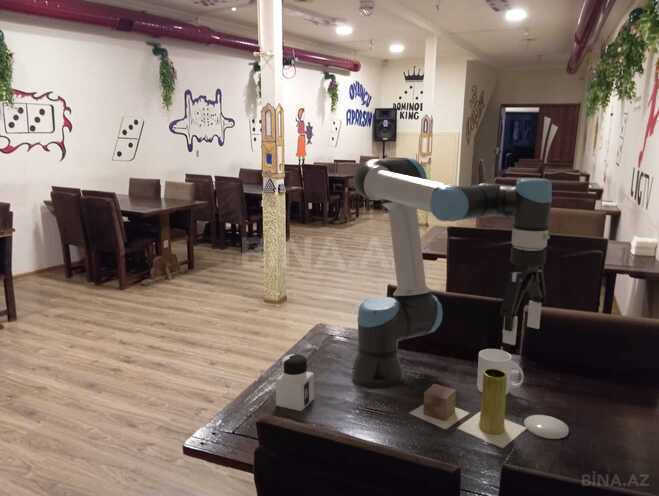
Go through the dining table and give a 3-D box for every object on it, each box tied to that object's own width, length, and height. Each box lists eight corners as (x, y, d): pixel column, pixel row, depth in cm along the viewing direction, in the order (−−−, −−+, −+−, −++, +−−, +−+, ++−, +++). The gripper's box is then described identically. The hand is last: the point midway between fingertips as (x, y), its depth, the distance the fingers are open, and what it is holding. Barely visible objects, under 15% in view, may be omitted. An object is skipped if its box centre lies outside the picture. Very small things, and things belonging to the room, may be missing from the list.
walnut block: (423, 414, 131) (424, 392, 130) (433, 404, 136) (434, 383, 135) (445, 421, 128) (446, 399, 127) (454, 411, 133) (455, 389, 131)
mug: (521, 402, 137) (523, 365, 135) (475, 394, 142) (476, 358, 140) (523, 388, 145) (525, 353, 143) (479, 381, 150) (481, 346, 148)
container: (314, 398, 140) (314, 354, 138) (301, 412, 133) (300, 365, 131) (289, 393, 144) (288, 349, 141) (275, 406, 137) (274, 360, 134)
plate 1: (408, 414, 132) (408, 412, 132) (433, 399, 140) (433, 398, 139) (445, 430, 124) (445, 429, 124) (469, 413, 132) (469, 412, 132)
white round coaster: (516, 427, 125) (517, 425, 125) (535, 412, 132) (535, 410, 132) (558, 444, 118) (558, 442, 118) (575, 427, 125) (575, 425, 125)
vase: (477, 431, 123) (480, 376, 120) (480, 419, 129) (483, 365, 126) (504, 436, 121) (507, 380, 118) (505, 423, 126) (509, 369, 124)
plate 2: (456, 429, 125) (456, 427, 125) (481, 411, 133) (481, 409, 133) (502, 449, 117) (502, 448, 116) (526, 428, 125) (526, 427, 125)
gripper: (522, 259, 105) (514, 355, 110) (565, 241, 123) (557, 324, 128) (487, 253, 111) (481, 345, 115) (534, 237, 128) (527, 317, 133)
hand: (521, 335), depth 121 cm, fingers open, 13 cm apart
